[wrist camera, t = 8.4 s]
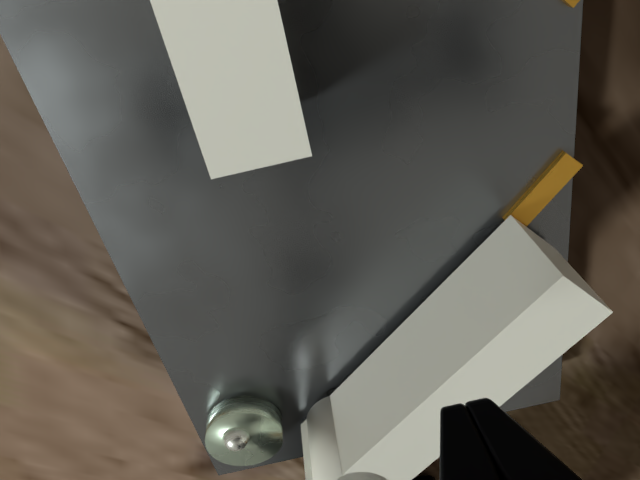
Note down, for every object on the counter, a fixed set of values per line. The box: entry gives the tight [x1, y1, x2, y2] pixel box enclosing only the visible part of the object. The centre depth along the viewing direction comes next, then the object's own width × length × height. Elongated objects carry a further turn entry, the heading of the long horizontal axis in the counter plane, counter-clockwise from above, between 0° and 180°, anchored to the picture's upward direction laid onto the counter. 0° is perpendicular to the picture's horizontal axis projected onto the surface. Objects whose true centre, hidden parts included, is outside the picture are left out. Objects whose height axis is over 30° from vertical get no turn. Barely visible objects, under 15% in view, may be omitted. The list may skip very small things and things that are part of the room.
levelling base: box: [0, 0, 583, 475], centre depth 14 cm, size 23×13×3 cm, turn 11°
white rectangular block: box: [301, 215, 613, 480], centre depth 16 cm, size 10×2×3 cm, turn 143°
